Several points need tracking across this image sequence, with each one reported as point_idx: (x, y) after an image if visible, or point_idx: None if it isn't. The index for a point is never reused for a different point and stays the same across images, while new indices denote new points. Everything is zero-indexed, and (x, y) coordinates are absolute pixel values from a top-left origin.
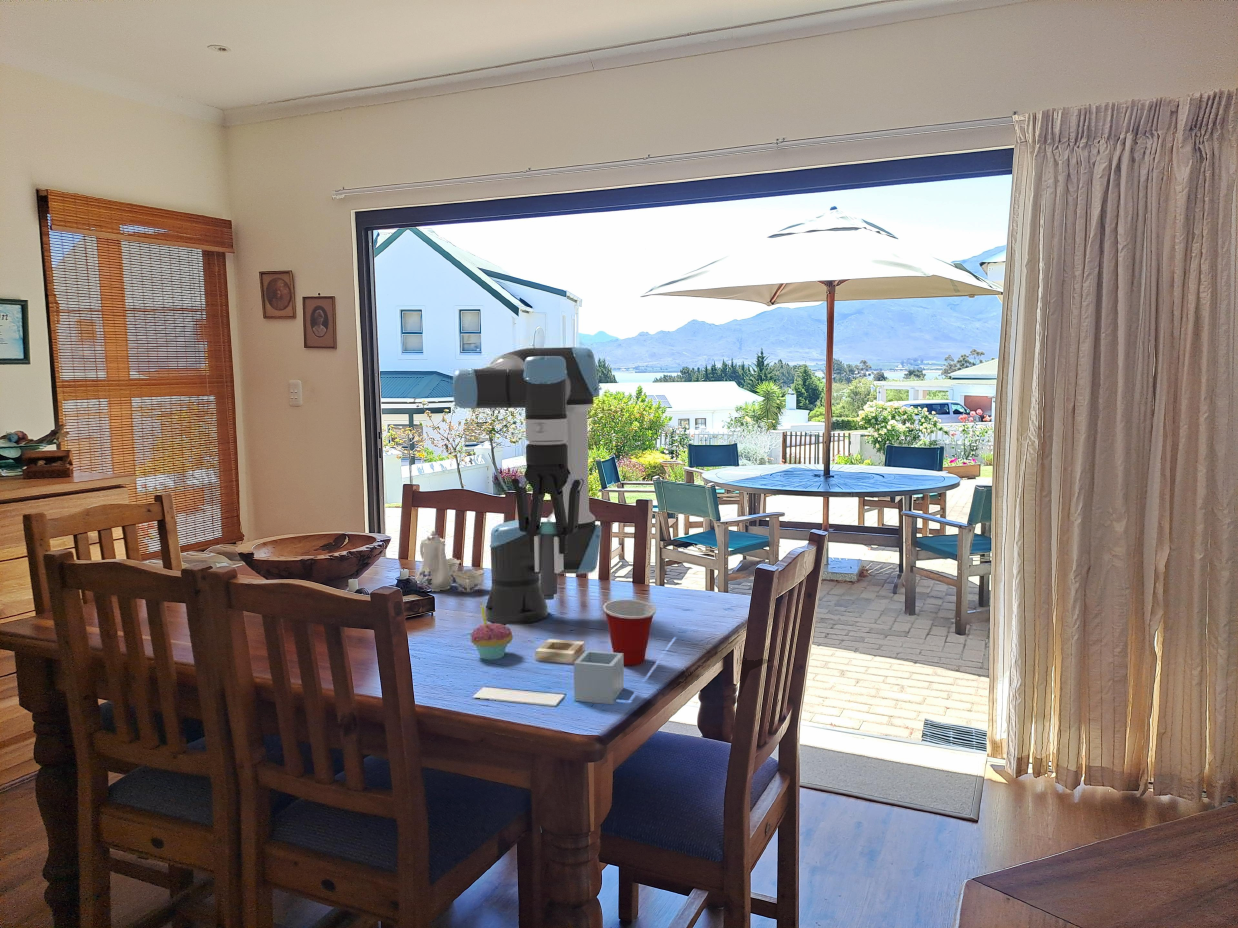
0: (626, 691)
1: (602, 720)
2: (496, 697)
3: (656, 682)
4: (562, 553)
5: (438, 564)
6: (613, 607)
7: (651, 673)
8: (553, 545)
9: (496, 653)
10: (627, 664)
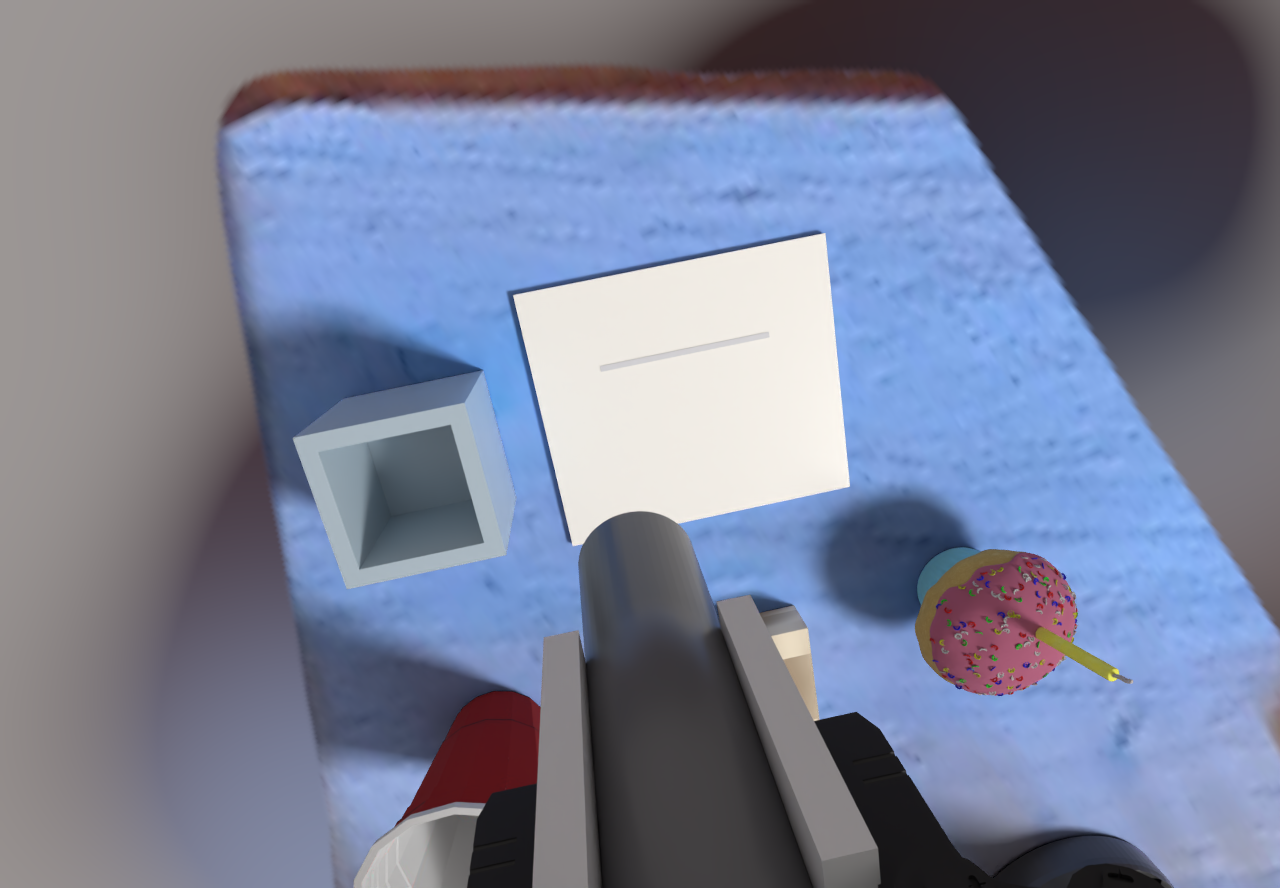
0: None
1: (290, 254)
2: (741, 263)
3: (326, 628)
4: (511, 792)
5: None
6: None
7: (386, 687)
8: (617, 840)
9: (934, 571)
10: (482, 699)
